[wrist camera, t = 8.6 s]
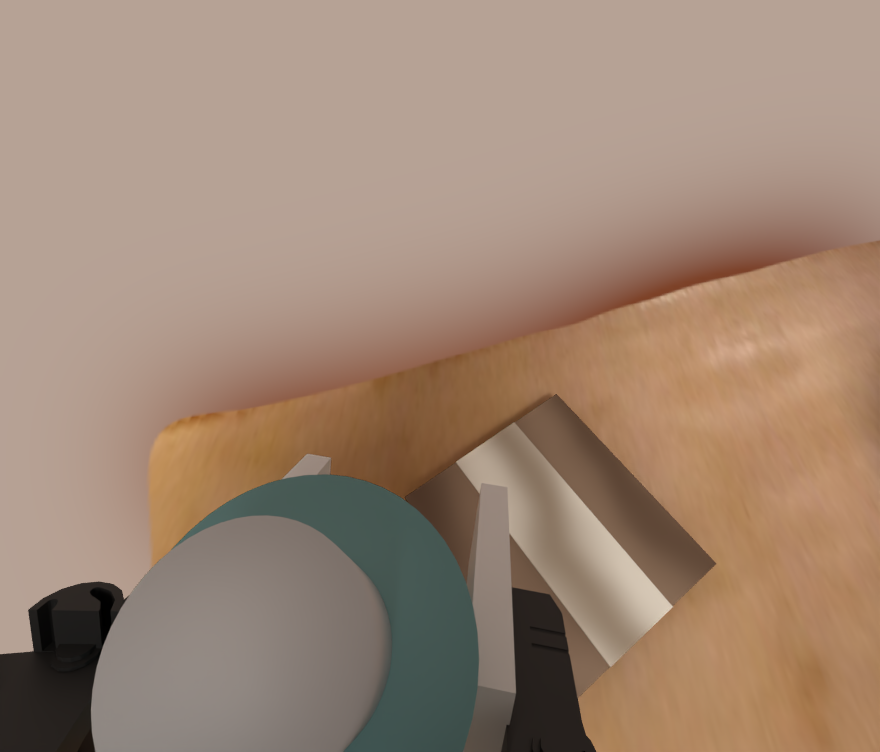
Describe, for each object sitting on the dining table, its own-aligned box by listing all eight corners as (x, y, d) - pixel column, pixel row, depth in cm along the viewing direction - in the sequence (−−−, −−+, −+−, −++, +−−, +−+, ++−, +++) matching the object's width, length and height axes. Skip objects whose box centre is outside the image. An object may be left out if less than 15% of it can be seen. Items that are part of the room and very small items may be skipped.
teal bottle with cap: (406, 546, 17) (338, 351, 6) (483, 667, 15) (609, 731, 4) (293, 629, 16) (-88, 585, 4) (361, 772, 14) (-7, 1363, 2)
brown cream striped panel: (551, 403, 34) (556, 392, 33) (703, 567, 28) (717, 563, 27) (406, 503, 30) (404, 496, 29) (548, 716, 25) (555, 720, 23)
